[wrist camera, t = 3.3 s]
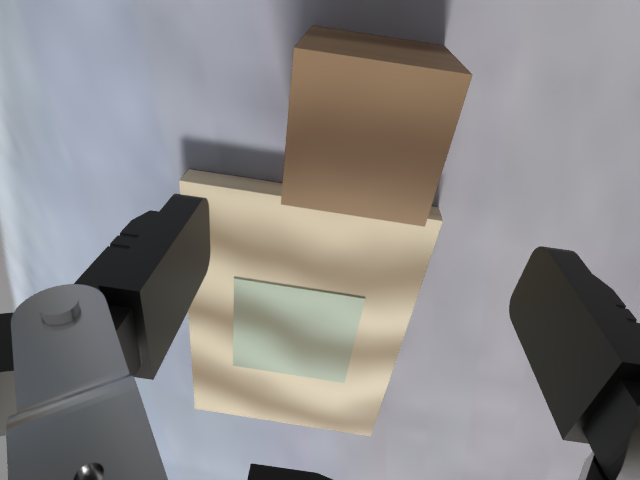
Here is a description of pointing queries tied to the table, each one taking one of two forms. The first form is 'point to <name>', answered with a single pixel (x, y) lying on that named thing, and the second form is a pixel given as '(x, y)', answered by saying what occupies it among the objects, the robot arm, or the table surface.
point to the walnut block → (370, 124)
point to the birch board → (300, 306)
